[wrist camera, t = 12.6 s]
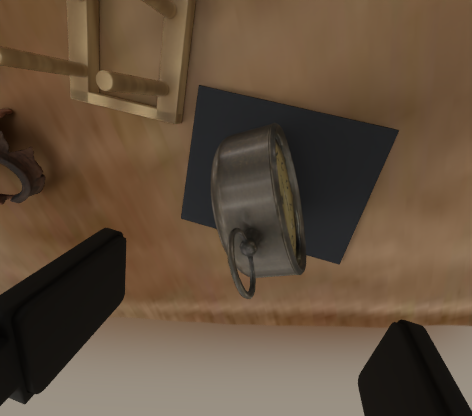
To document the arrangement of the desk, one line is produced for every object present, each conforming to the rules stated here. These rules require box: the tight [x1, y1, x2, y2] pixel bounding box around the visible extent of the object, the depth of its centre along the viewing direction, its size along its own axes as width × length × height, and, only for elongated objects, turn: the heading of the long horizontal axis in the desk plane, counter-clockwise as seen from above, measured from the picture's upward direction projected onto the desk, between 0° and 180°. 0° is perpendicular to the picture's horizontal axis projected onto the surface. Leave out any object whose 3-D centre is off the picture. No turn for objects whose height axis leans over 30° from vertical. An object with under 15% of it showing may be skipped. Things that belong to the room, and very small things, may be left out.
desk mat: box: [181, 85, 399, 264], centre depth 26 cm, size 18×14×1 cm
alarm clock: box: [211, 123, 306, 299], centre depth 18 cm, size 11×5×16 cm, turn 16°
